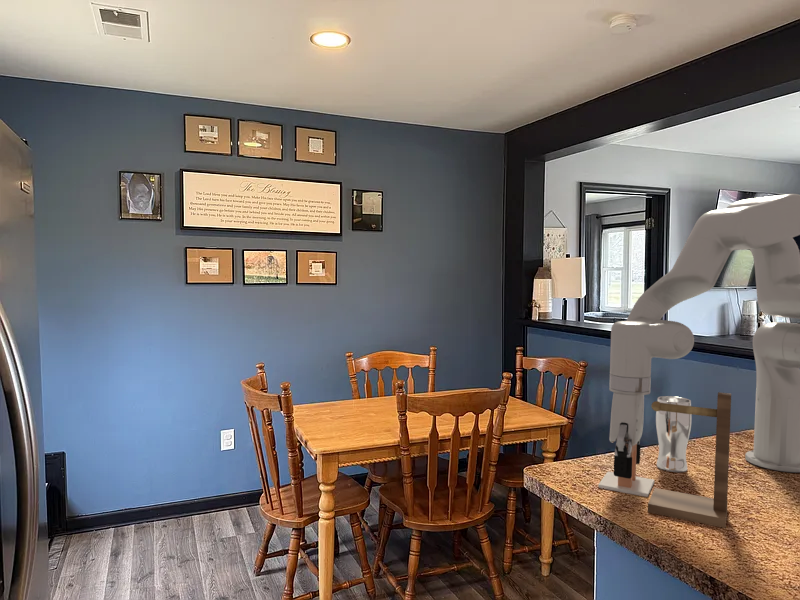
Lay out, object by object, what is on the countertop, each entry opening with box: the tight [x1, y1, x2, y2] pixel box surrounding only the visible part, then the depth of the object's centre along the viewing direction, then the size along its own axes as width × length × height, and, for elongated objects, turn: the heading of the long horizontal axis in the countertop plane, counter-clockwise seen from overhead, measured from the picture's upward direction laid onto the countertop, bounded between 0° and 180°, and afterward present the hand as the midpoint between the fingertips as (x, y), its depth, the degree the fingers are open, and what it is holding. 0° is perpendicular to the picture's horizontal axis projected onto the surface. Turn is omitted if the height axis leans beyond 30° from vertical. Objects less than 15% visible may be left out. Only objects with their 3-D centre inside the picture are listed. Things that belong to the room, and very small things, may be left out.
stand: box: [647, 391, 732, 529], centre depth 103 cm, size 9×12×22 cm
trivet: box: [597, 471, 655, 498], centre depth 115 cm, size 9×9×1 cm
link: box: [618, 440, 637, 488], centre depth 115 cm, size 6×2×8 cm, turn 150°
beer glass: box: [655, 395, 692, 473], centre depth 126 cm, size 7×7×15 cm
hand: (627, 469), depth 115 cm, fingers open, 9 cm apart
